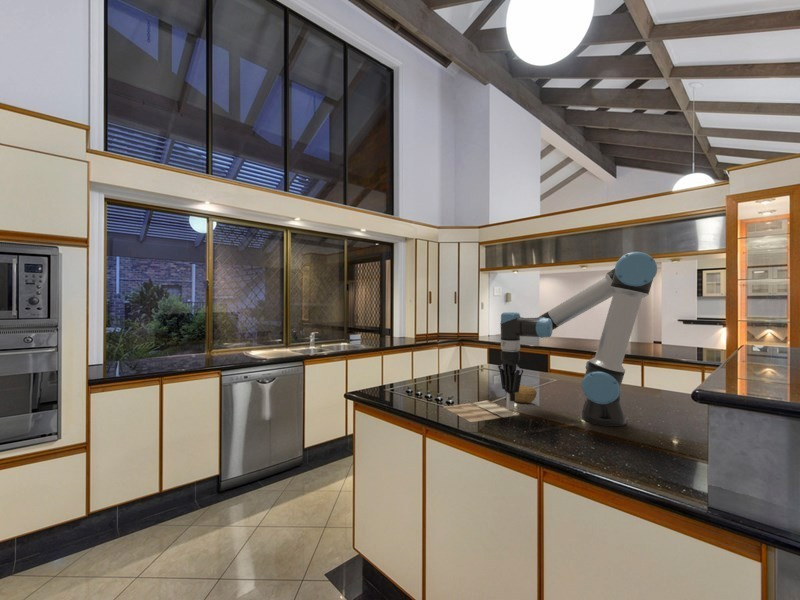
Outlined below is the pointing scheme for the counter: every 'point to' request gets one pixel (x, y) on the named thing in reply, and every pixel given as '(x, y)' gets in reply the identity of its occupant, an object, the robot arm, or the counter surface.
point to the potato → (525, 394)
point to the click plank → (496, 409)
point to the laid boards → (471, 412)
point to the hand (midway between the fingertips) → (510, 408)
